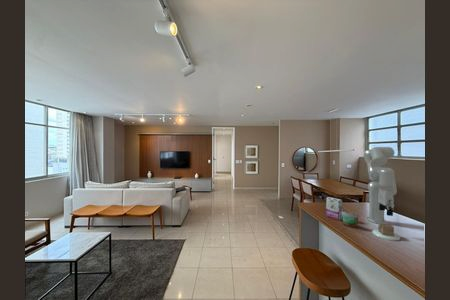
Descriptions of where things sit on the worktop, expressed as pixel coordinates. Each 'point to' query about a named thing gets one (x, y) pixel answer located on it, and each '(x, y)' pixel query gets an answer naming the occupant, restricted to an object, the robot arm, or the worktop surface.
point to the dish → (393, 238)
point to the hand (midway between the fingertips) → (385, 212)
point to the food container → (350, 219)
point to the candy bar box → (334, 208)
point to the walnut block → (386, 229)
